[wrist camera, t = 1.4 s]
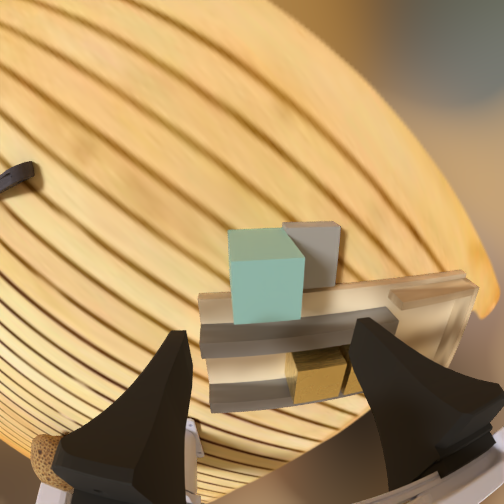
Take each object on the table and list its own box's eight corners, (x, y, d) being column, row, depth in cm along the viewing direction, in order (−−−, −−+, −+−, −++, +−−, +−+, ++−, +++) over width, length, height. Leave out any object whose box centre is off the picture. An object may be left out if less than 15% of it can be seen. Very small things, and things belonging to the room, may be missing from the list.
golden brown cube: (324, 367, 25) (338, 396, 21) (284, 372, 25) (293, 404, 21) (330, 334, 24) (347, 363, 20) (286, 340, 23) (297, 371, 20)
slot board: (429, 361, 29) (443, 378, 26) (213, 400, 27) (213, 426, 23) (460, 269, 25) (481, 283, 21) (198, 293, 22) (196, 318, 19)
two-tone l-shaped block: (328, 278, 23) (358, 317, 17) (230, 284, 22) (234, 330, 17) (333, 221, 21) (370, 247, 16) (227, 224, 20) (230, 254, 15)
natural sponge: (30, 415, 27) (9, 462, 17) (70, 421, 27) (51, 477, 18) (60, 448, 30) (47, 492, 21) (101, 454, 30) (90, 505, 21)
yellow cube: (365, 359, 26) (382, 385, 22) (329, 366, 25) (343, 395, 21) (374, 327, 24) (394, 353, 20) (336, 333, 24) (352, 362, 20)
